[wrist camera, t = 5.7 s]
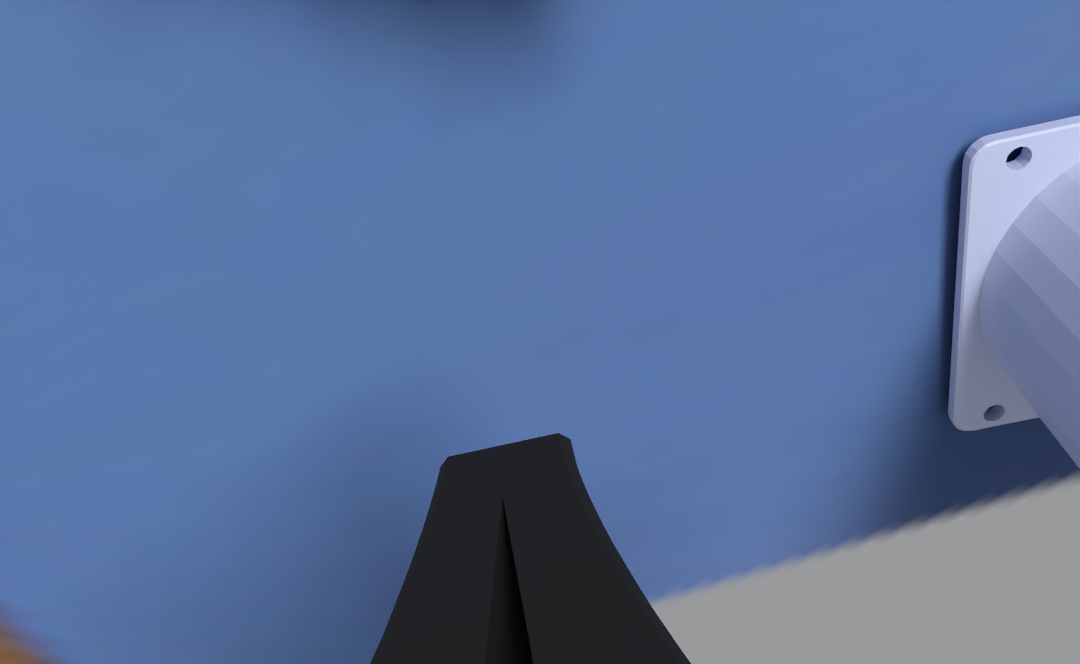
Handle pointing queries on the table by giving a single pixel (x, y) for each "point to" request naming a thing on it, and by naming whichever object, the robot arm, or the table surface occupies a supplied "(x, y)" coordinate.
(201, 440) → the table surface
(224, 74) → the table surface
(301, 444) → the table surface
